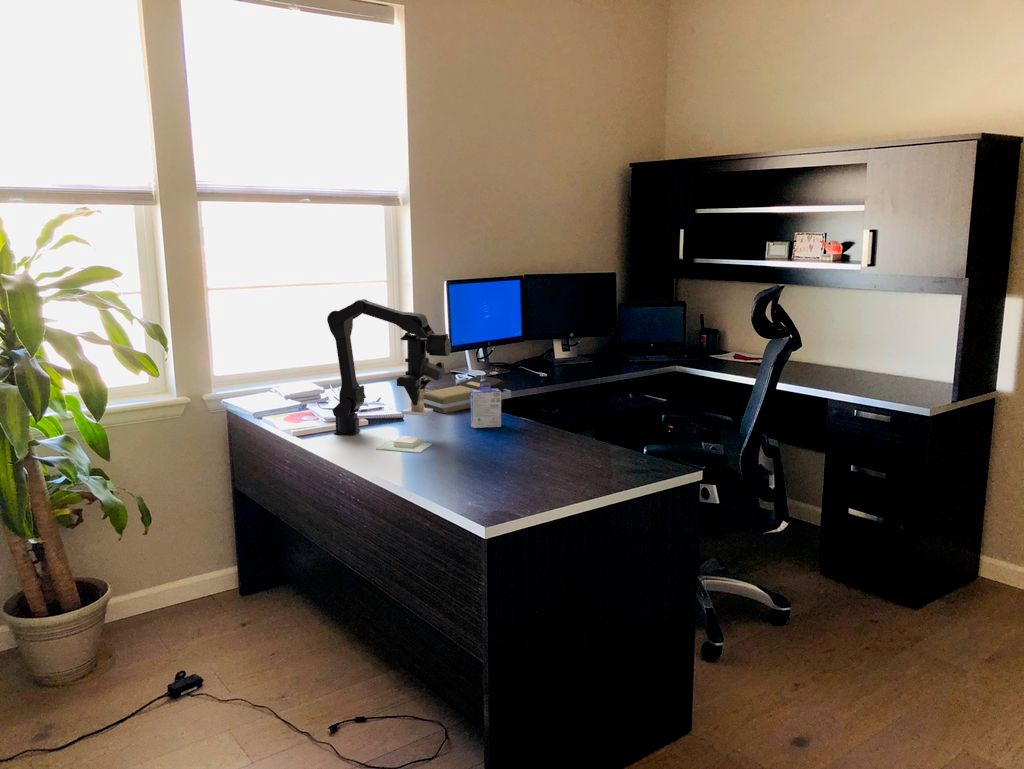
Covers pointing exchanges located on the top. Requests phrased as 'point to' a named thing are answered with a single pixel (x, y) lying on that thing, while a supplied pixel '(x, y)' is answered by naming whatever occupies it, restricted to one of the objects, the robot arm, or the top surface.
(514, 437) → the top surface
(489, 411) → the ink cartridge box
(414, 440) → the tile
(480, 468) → the top surface
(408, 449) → the mat
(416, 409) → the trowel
